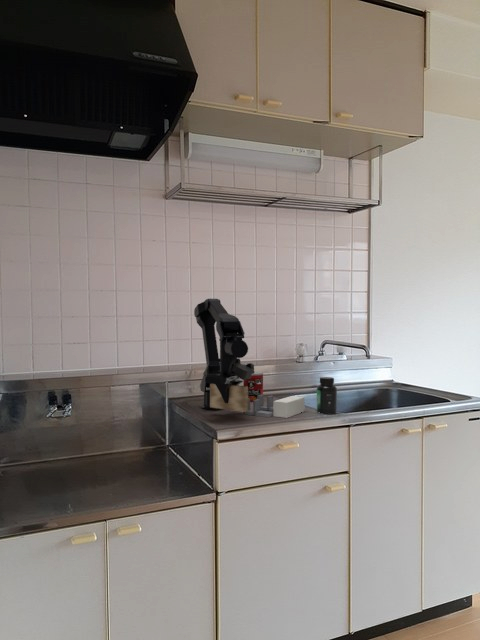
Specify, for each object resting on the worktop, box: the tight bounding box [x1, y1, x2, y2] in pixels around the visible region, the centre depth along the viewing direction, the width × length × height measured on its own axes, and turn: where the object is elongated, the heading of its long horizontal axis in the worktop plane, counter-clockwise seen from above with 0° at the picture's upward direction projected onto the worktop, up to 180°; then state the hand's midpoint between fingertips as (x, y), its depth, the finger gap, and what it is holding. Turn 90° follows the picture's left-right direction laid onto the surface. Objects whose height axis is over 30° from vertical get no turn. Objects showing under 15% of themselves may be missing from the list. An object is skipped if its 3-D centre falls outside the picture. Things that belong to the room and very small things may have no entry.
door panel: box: [210, 384, 248, 413], centre depth 165 cm, size 14×2×8 cm, turn 56°
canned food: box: [242, 370, 264, 403], centre depth 197 cm, size 8×8×11 cm
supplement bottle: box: [316, 376, 338, 414], centre depth 173 cm, size 7×7×12 cm
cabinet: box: [242, 394, 306, 419], centre depth 172 cm, size 15×16×5 cm
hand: (228, 402), depth 165 cm, fingers closed on door panel, 2 cm apart
